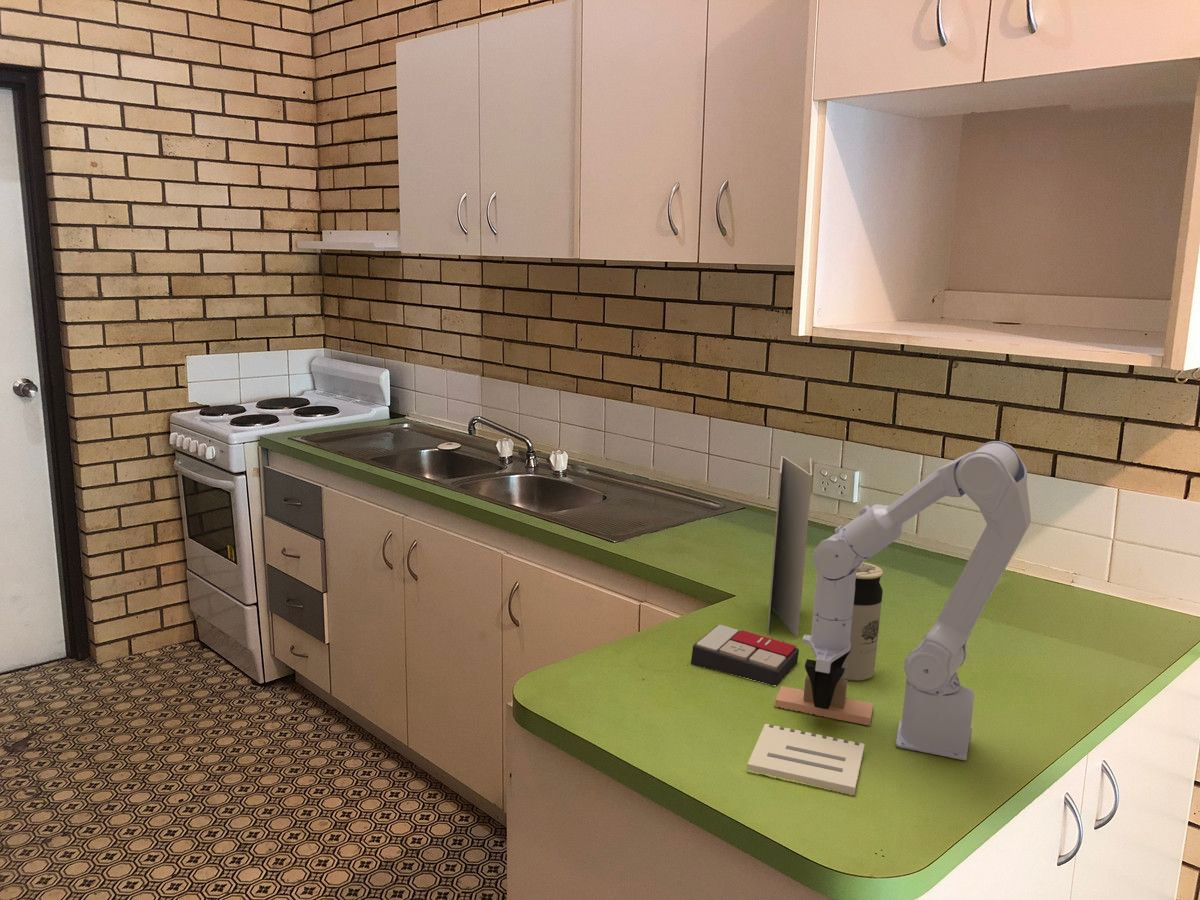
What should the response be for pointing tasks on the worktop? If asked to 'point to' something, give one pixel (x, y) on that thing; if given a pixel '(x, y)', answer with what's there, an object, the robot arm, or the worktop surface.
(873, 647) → the travel mug
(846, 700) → the pink block with handle
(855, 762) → the cream notepad
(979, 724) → the worktop surface
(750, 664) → the calculator
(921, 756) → the worktop surface
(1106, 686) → the worktop surface
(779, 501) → the brochure
